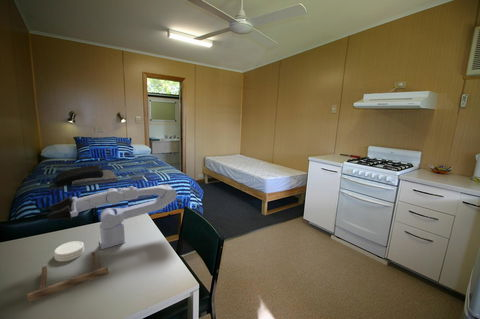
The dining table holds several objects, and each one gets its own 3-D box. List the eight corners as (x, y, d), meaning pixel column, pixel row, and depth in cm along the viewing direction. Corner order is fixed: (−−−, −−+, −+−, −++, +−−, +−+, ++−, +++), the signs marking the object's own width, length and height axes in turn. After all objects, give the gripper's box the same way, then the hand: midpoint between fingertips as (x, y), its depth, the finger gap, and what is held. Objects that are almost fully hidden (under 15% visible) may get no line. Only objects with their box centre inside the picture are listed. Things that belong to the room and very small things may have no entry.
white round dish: (82, 244, 98) (81, 238, 97) (86, 255, 91) (85, 248, 90) (53, 253, 91) (52, 246, 90) (55, 265, 84) (54, 257, 84)
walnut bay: (103, 254, 92) (102, 249, 92) (108, 273, 81) (108, 267, 81) (32, 276, 78) (31, 270, 78) (28, 302, 67) (27, 295, 67)
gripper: (86, 187, 97) (48, 197, 90) (87, 201, 86) (43, 213, 78) (90, 201, 99) (53, 211, 92) (92, 216, 88) (49, 228, 81)
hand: (49, 213), depth 85 cm, fingers open, 7 cm apart
